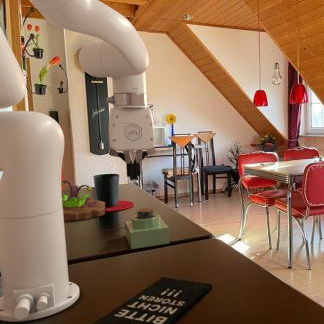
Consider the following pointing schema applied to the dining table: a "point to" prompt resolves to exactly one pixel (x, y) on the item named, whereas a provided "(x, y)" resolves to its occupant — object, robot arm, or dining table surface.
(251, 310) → the dining table surface
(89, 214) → the plant
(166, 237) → the button base
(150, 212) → the dark round button cap
